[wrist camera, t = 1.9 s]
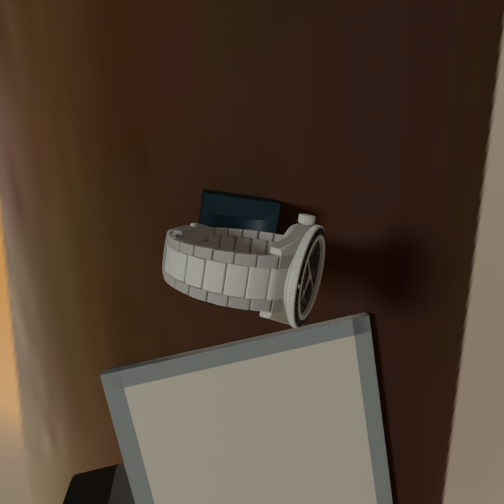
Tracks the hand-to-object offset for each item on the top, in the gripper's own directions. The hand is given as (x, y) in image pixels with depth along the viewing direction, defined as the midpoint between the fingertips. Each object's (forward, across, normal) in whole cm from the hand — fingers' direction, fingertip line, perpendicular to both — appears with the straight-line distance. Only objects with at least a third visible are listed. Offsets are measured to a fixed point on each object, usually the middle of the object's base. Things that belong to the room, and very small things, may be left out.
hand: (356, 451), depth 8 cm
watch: (+22, 0, 0) cm, 22 cm away
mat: (+22, +1, +16) cm, 27 cm away
